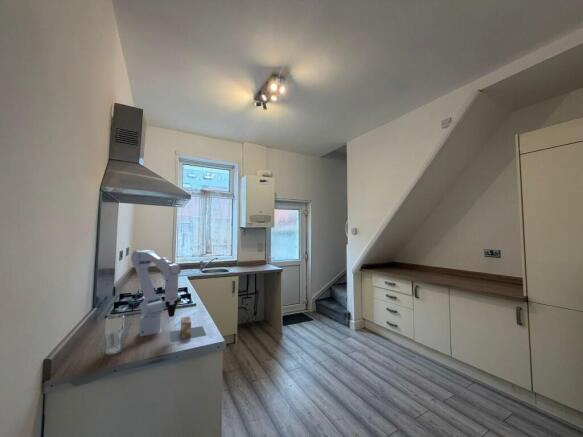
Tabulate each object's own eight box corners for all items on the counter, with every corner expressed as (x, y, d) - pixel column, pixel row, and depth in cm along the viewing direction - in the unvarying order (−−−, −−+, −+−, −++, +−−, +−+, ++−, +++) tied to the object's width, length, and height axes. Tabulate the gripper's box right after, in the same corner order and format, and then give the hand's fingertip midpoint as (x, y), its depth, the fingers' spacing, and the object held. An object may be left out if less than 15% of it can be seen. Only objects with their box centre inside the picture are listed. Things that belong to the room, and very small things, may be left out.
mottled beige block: (182, 338, 119) (182, 323, 119) (180, 331, 127) (181, 317, 127) (190, 336, 120) (191, 321, 121) (189, 330, 128) (189, 316, 129)
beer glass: (108, 357, 102) (110, 320, 103) (101, 352, 105) (102, 317, 106) (127, 350, 107) (128, 315, 108) (119, 346, 111) (120, 312, 112)
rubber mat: (170, 343, 114) (170, 342, 114) (169, 332, 126) (169, 331, 126) (206, 336, 121) (206, 335, 122) (202, 326, 134) (202, 326, 134)
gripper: (181, 290, 117) (181, 319, 116) (179, 285, 130) (179, 311, 129) (164, 291, 114) (164, 321, 113) (164, 286, 127) (164, 313, 126)
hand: (171, 316), depth 121 cm, fingers closed
